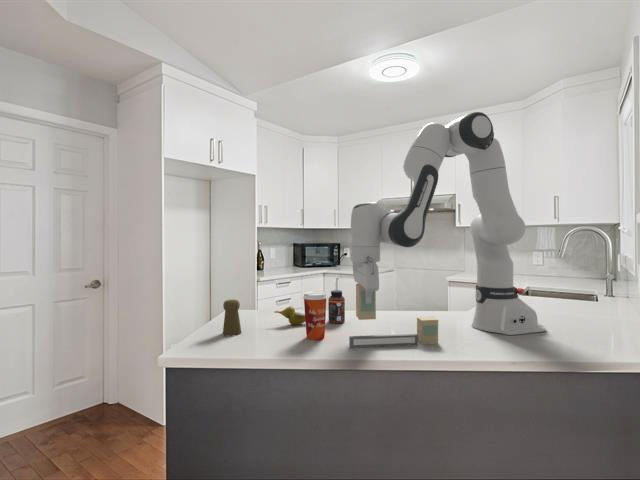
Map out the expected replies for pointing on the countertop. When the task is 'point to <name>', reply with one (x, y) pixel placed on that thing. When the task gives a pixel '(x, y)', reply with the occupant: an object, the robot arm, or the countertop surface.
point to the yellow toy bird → (292, 316)
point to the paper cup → (315, 314)
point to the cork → (231, 318)
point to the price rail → (383, 340)
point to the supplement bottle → (336, 307)
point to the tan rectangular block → (365, 304)
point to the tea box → (427, 330)
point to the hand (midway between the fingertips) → (365, 300)
